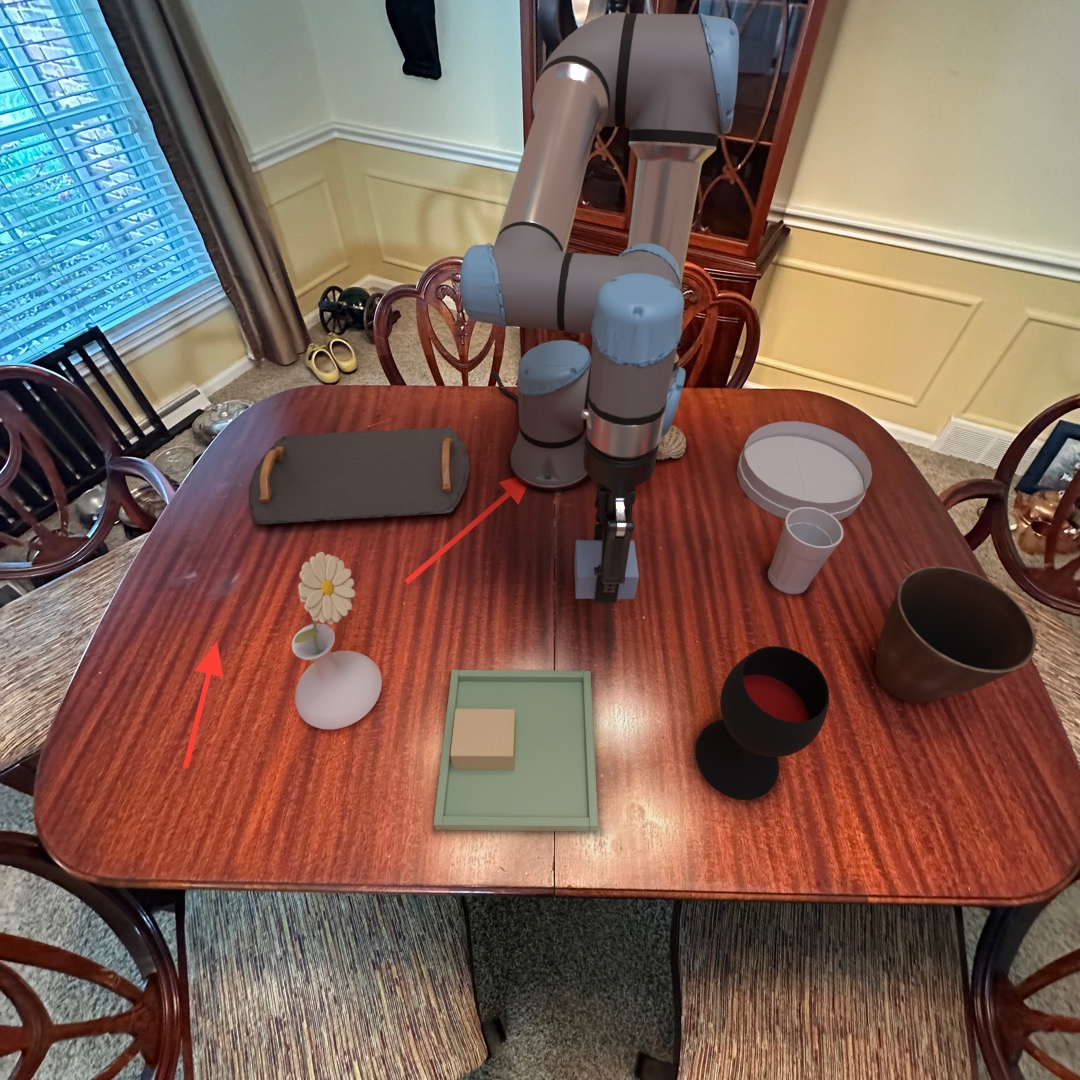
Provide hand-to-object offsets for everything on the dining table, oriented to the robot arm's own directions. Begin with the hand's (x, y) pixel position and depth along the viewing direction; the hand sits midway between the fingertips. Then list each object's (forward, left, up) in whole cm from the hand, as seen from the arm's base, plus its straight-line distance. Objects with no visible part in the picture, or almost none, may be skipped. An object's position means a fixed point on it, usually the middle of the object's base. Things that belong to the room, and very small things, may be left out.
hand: (603, 579), depth 78 cm
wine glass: (+25, +2, -14) cm, 28 cm away
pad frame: (+7, -19, -13) cm, 24 cm away
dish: (-2, +51, -14) cm, 53 cm away
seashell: (-23, +38, -14) cm, 47 cm away
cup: (+11, +31, -14) cm, 35 cm away
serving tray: (-50, -12, -14) cm, 54 cm away
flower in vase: (-14, -33, -14) cm, 38 cm away
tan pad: (+4, -22, -13) cm, 26 cm away
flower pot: (+32, +29, -14) cm, 45 cm away
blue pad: (0, 0, 0) cm, 0 cm away
